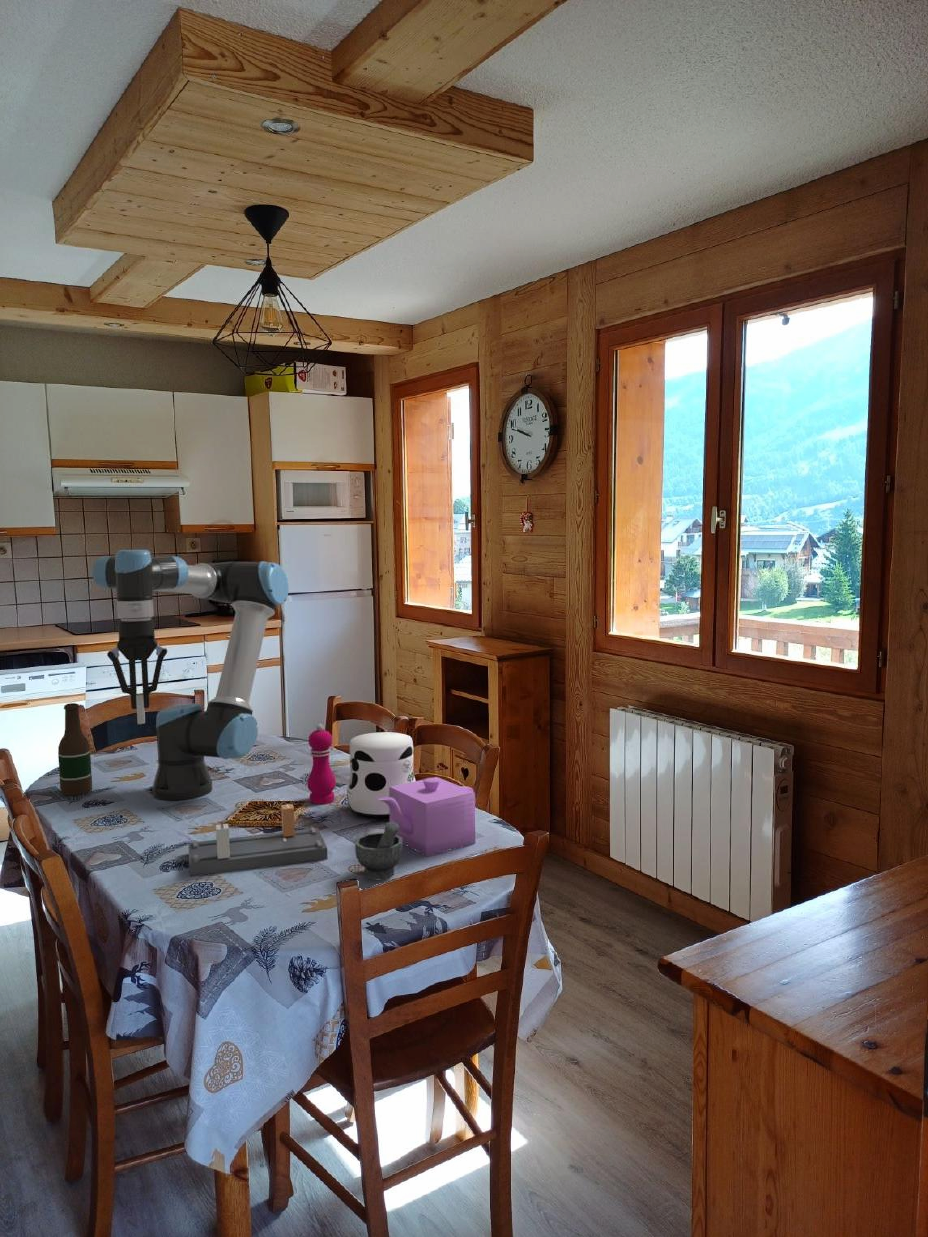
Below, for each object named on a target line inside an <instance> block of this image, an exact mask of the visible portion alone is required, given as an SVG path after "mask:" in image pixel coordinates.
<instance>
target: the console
mask: <svg viewBox="0 0 928 1237" xmlns="http://www.w3.org/2000/svg"><path fill="white" fill-rule="evenodd" d="M187 845H188V868H189V870H188V871H189V877H194V876H195V877H196V876H201V875H208V874H209V875H210V874H211V875H212V874H218V873H225V872H226V873H227V872H234V871H241V870H249V869H250V870H251V869H257V868H258V869H259V868H265V867H275V866H283V865H289V864H290V865H291V864H299V863H306V862H312V861H313V862H315V861H323V860H328V846H327V844H326V843H325V840H324V837H323V836H322V834H321V831H320V829H319V827H316V828H315V827H314V826H312V827H310V828H305V829H297V830H295V836H287V837H284V836H283V833H282V831H281V832H280V831H278V832H273V833H271V832H270V833H263V834H254V835H246V836H237V837H229V846H230V858H222V859H218V856H217V839H212V840H202V841H198V840H193V841H192V842H188V844H187Z"/></svg>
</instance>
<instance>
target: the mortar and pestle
mask: <svg viewBox="0 0 928 1237" xmlns="http://www.w3.org/2000/svg"><path fill="white" fill-rule="evenodd" d="M398 830H399V826H398V825H397V823H395V822H390V821H388V822H386V823H385V826H384V831H383V832H375V833H374V832H373V833H367V834H364V835H362V836H359V837H357V838H356V839H355V842H354V852H355V857H356V859H357V861H358V863H359V864H360V865H361V866H362V867H363V868H364V877H366V878H367V879H369V880H375V879H381V880H387V879H386V878H388V879H389V878H391V877H393V876H395V866H396V865H397V864H398V863H399V862H400V859H401V858H402V851H403V843H402V837H400V836H398V835H396V833H397V832H398Z"/></svg>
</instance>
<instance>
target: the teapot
mask: <svg viewBox="0 0 928 1237" xmlns="http://www.w3.org/2000/svg"><path fill="white" fill-rule="evenodd" d="M378 800H380V801H382V802H385V803H386V804H387V805H388V806H389V811H390V816H389V822H395V823H397V825H398V826H399V830H398V832H397V833H396V835H398V836H400V837H402V845H404V846H406V845H408V846H409V847H408V846H407V847H408V848H410V847H411V848H410V849H412V848H413V849H412V850H414V849H416V850H417V851H419V852H420V853H419V852H418V853H419V854H421V855H423V854H424V855H423V856H425V855H426V856H427V857H430V856H429V855H431V856H433V855H432V854H435V855H437V853H438V854H441V852H442V853H444V852H443V851H446V852H448V851H447V850H449V849H453V850H455V849H454V848H457V849H459V848H458V847H460V848H462V847H461V846H464V847H466V846H465V845H468V846H471V845H474V843H475V844H476V792H475V791H474V789H473V788H472V787H470V786H467V785H466V786H465V785H463V786H460V785H458V784H456V783H452V782H450V781H448V780H445V779H442V778H440V777H438V776H435V777H428V778H424V779H420V780H419V779H418V780H416V781H415V782H410V783H405V784H401V785H396V786H391V787H389V797H384V798H380V799H378ZM470 844H471V845H470ZM416 850H415V851H416ZM417 851H416V852H417ZM449 851H450V850H449ZM426 856H425V857H426Z"/></svg>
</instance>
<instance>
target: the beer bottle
mask: <svg viewBox="0 0 928 1237" xmlns="http://www.w3.org/2000/svg"><path fill="white" fill-rule="evenodd" d="M79 708H80V706H79V704H78V703H76V702H73V703H67V704H65V705H64V706H63V710H64V734H63V736H62V738H61V740H60V741H59V743H58V744H59V745H58V746H57V747H58V750H57V755H58V770H59V772H58V773H59V775H58V776H59V787H60V789H59V790H60V794H61V795H63V796H64V797H80V796H84V795H85V796H86V795H88V794H89V793H90V792H92V790H93V777H92V758H91V757H92V756H91V746H90V743H89V741H88V738H87V737H86V736H85V734H83V731H82V726H81V721H80V713H79Z"/></svg>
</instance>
